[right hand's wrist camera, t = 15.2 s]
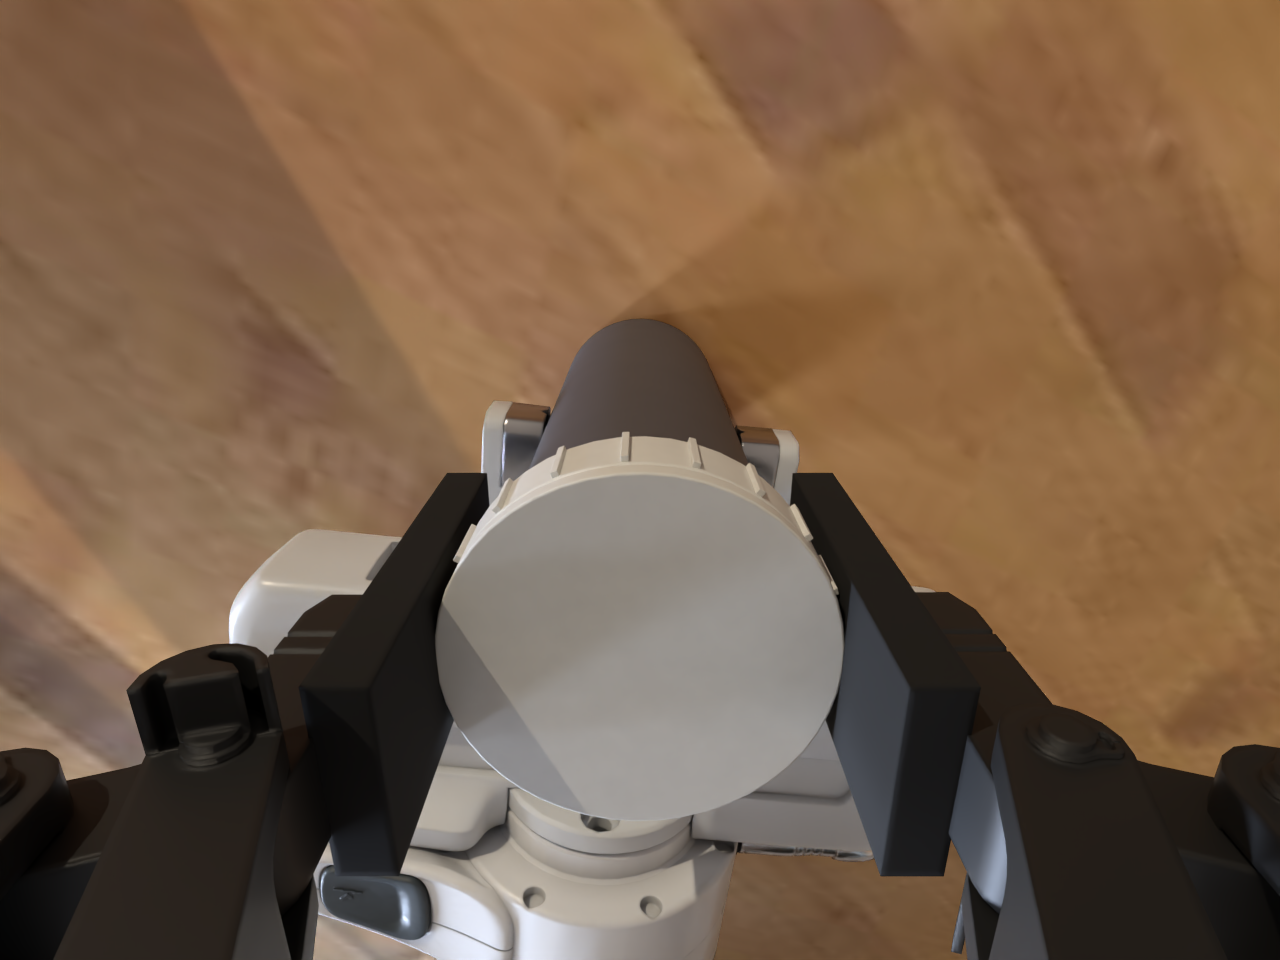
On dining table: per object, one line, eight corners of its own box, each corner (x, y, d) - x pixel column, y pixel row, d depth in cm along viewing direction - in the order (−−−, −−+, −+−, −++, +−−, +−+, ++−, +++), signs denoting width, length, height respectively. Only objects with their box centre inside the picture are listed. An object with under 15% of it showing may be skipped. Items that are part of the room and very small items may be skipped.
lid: (847, 717, 13) (875, 787, 11) (517, 780, 13) (501, 855, 12) (792, 390, 11) (817, 422, 9) (403, 480, 11) (367, 524, 10)
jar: (725, 444, 26) (830, 747, 12) (587, 475, 26) (526, 803, 12) (696, 302, 24) (777, 455, 10) (549, 337, 24) (425, 533, 10)
